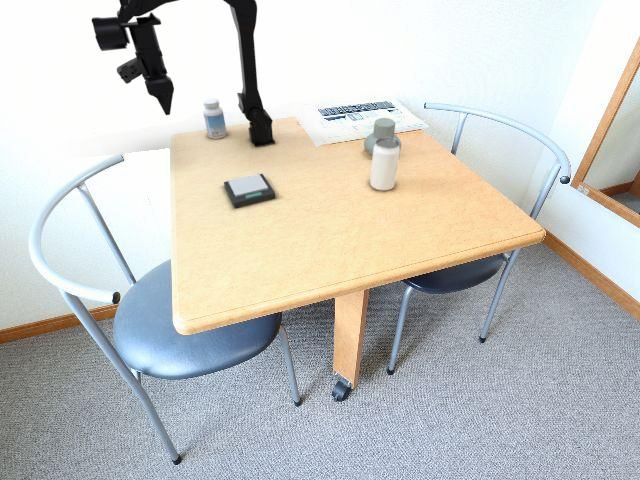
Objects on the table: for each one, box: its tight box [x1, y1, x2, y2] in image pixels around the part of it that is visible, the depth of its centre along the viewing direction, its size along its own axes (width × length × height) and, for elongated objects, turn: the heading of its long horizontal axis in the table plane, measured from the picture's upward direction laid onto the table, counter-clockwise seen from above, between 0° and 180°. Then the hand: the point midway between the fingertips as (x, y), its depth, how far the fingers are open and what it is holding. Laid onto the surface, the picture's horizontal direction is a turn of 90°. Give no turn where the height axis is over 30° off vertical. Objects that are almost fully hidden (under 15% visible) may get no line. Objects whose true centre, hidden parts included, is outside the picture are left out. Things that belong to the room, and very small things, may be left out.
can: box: [369, 138, 401, 192], centre depth 93 cm, size 6×6×12 cm
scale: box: [223, 173, 276, 209], centre depth 94 cm, size 10×10×2 cm
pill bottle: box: [202, 97, 228, 140], centre depth 117 cm, size 6×6×11 cm
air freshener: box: [363, 117, 402, 157], centre depth 107 cm, size 11×8×10 cm
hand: (165, 109), depth 101 cm, fingers open, 9 cm apart
